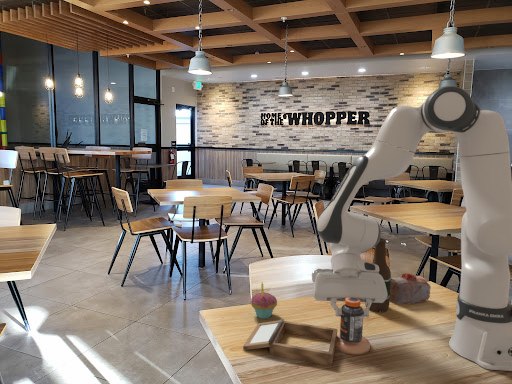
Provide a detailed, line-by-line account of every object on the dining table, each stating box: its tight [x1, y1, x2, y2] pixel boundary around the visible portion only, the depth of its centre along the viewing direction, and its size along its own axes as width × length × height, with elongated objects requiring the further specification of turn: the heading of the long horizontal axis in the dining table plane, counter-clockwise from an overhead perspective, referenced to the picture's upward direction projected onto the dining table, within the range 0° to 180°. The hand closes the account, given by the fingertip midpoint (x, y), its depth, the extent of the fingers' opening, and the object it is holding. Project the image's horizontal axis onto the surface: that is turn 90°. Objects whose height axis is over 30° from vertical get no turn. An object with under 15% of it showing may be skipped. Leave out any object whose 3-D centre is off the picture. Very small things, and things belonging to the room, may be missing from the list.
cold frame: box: [268, 318, 338, 367], centre depth 103 cm, size 16×14×4 cm
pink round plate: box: [335, 332, 371, 356], centre depth 104 cm, size 10×10×1 cm
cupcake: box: [250, 282, 278, 320], centre depth 121 cm, size 9×8×12 cm
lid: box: [242, 319, 280, 351], centre depth 106 cm, size 7×14×3 cm, turn 163°
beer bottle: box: [365, 237, 392, 313], centre depth 127 cm, size 8×8×24 cm
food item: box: [389, 273, 431, 305], centre depth 135 cm, size 14×8×10 cm, turn 106°
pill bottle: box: [339, 297, 364, 343], centre depth 104 cm, size 6×6×11 cm
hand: (352, 316), depth 103 cm, fingers closed on pill bottle, 6 cm apart
